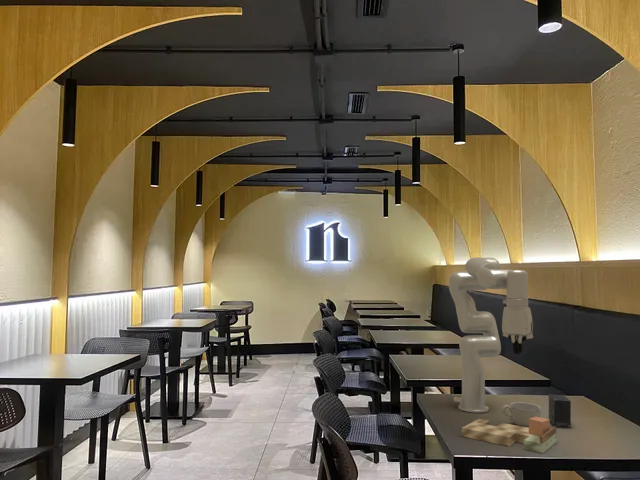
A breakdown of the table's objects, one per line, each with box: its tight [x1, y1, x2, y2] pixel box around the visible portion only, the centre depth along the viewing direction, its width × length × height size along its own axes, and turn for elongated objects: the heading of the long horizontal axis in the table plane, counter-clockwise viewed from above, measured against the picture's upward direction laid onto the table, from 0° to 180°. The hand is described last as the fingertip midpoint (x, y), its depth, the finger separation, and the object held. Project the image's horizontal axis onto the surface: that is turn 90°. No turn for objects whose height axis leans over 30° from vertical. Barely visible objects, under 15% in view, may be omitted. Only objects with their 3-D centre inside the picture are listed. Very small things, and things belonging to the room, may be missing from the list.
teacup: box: [501, 401, 541, 428], centre depth 208 cm, size 14×11×8 cm
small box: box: [548, 393, 572, 429], centre depth 211 cm, size 11×6×10 cm, turn 168°
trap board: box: [461, 418, 558, 454], centre depth 191 cm, size 28×16×5 cm, turn 52°
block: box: [529, 416, 551, 436], centre depth 187 cm, size 5×5×5 cm
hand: (517, 353), depth 198 cm, fingers closed
